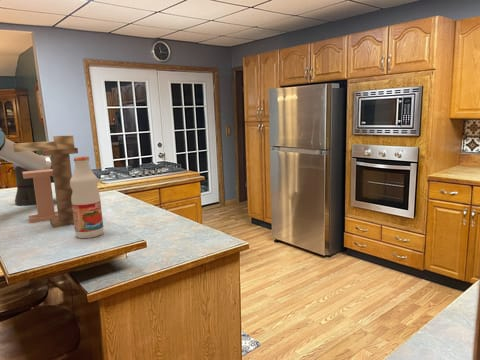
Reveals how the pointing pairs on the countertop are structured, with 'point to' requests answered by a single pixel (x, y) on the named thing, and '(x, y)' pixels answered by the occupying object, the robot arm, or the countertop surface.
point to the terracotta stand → (42, 195)
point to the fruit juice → (85, 200)
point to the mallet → (47, 144)
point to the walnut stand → (62, 184)
